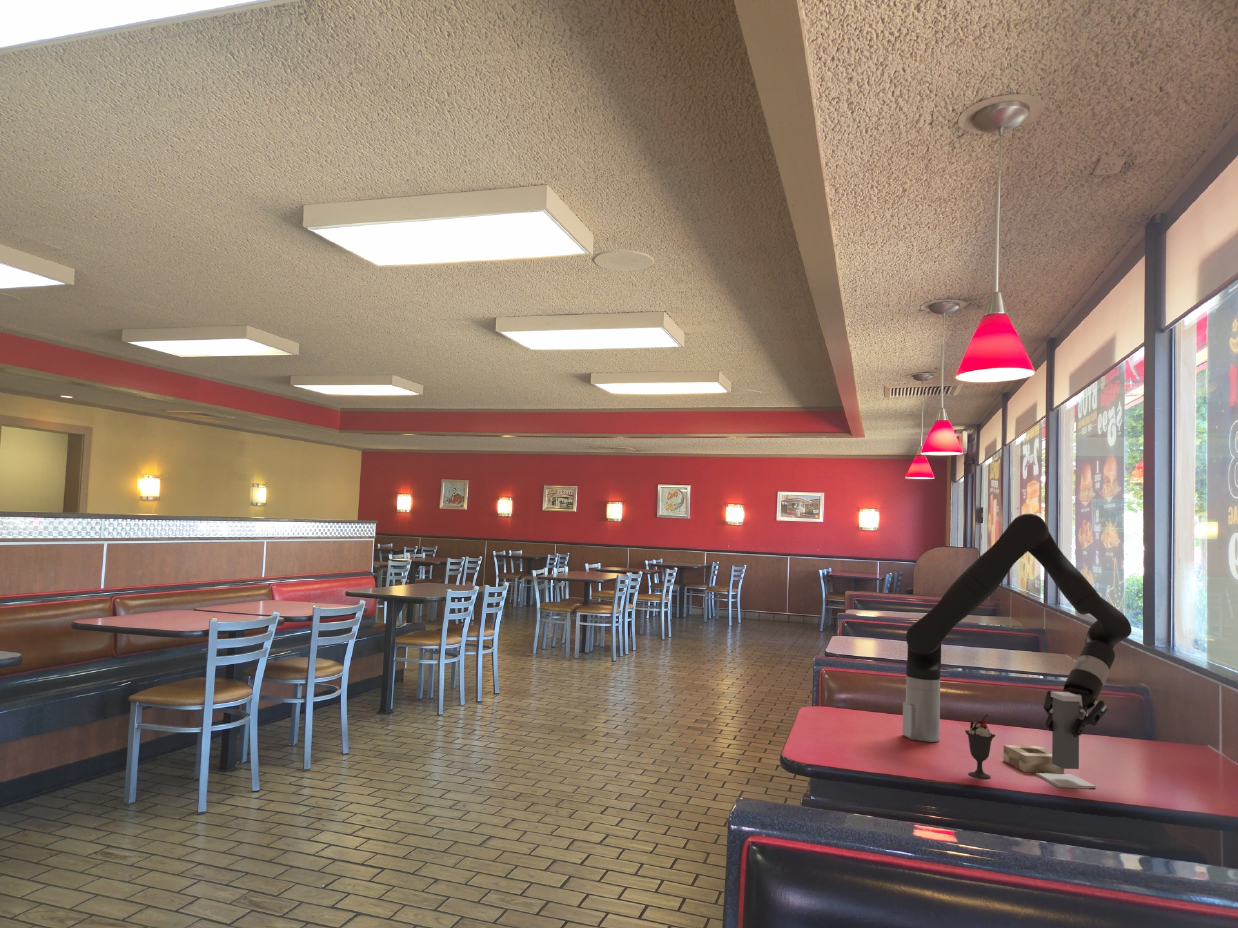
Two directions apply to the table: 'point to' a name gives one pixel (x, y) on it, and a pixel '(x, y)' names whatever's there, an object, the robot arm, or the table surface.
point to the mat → (1065, 780)
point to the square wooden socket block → (1030, 758)
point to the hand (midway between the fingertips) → (1061, 731)
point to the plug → (1065, 730)
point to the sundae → (979, 745)
